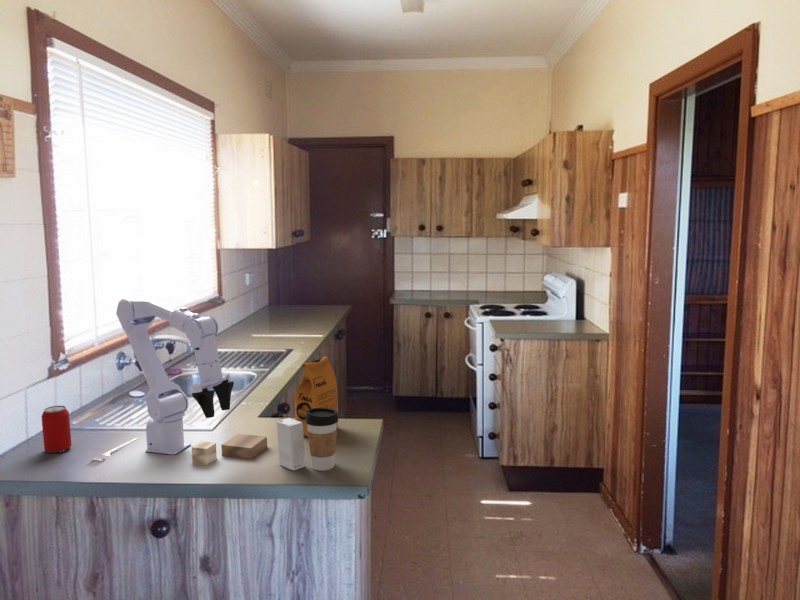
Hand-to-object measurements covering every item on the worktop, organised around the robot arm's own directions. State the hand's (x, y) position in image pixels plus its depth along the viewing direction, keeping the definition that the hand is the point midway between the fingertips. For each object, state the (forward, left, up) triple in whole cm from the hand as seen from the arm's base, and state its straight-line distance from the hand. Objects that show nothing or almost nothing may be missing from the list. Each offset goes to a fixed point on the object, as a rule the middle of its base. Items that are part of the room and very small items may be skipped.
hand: (218, 413), depth 169 cm
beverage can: (-49, -4, -14) cm, 51 cm away
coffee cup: (+27, +5, -14) cm, 31 cm away
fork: (-33, 0, -14) cm, 36 cm away
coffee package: (+15, +29, -14) cm, 36 cm away
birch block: (-5, 0, -14) cm, 14 cm away
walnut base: (+2, +9, -13) cm, 16 cm away
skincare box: (+19, +3, -14) cm, 24 cm away
